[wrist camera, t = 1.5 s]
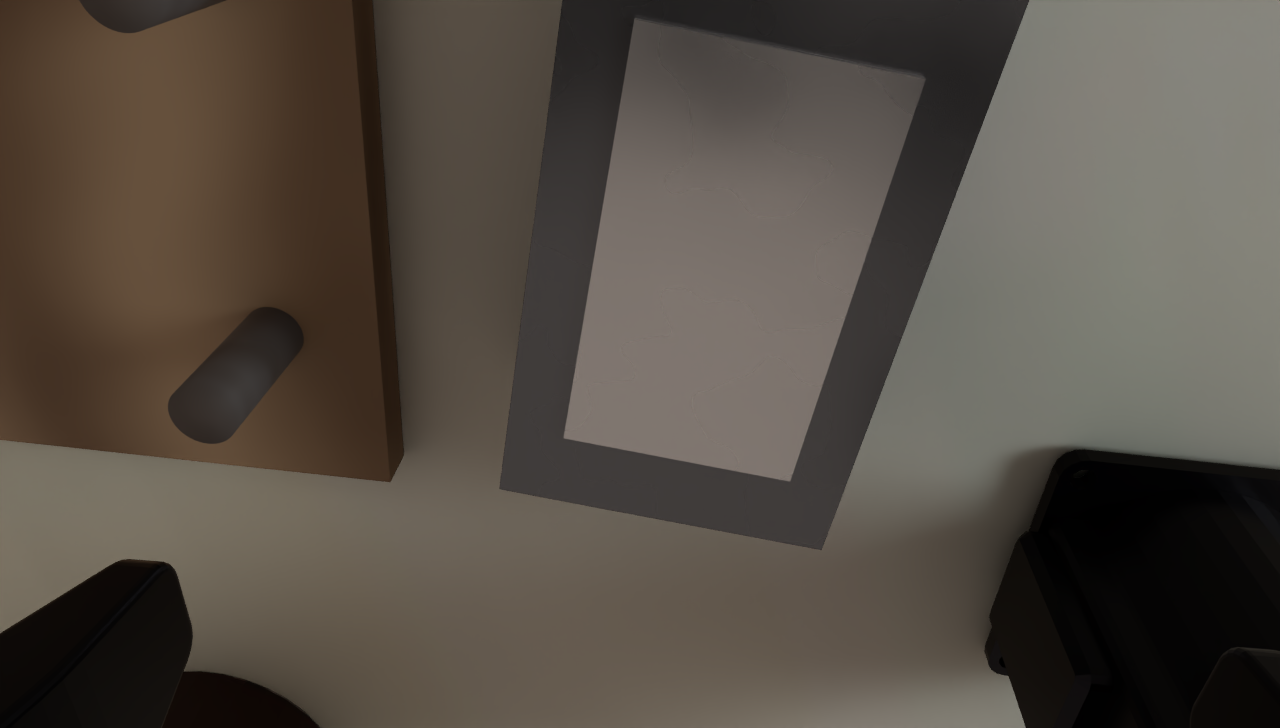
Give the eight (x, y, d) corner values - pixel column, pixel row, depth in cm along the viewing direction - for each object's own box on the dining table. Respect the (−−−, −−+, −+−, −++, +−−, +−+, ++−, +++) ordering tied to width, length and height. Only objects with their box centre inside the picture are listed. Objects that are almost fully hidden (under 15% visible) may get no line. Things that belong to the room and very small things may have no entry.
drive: (966, -61, 15) (1042, -24, 12) (804, 426, 20) (822, 555, 17) (610, -136, 15) (576, -121, 12) (536, 374, 20) (497, 494, 17)
